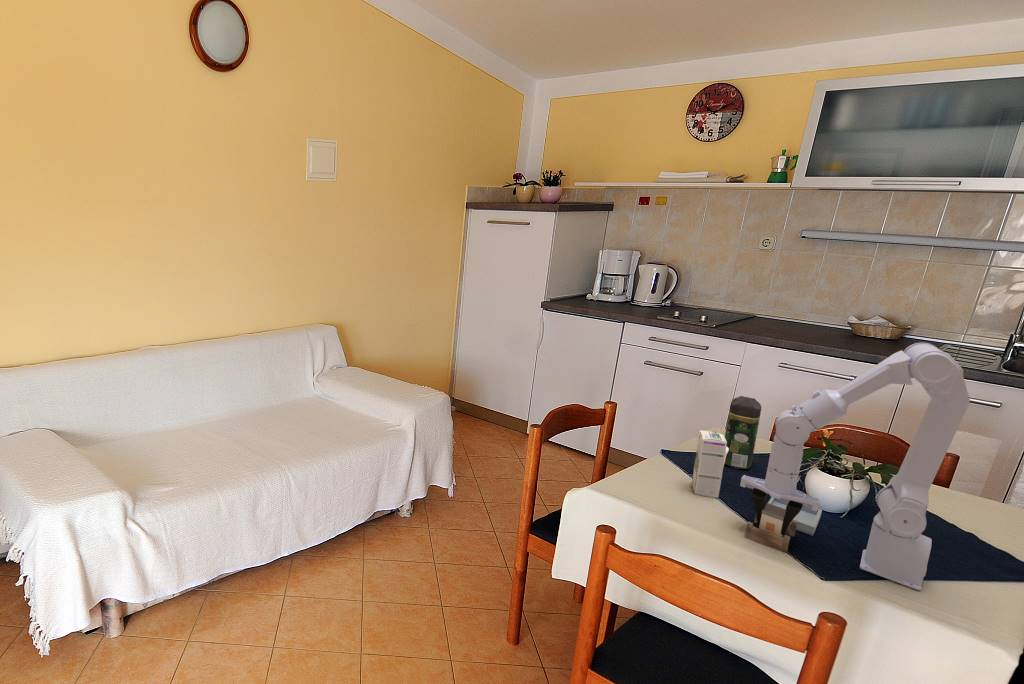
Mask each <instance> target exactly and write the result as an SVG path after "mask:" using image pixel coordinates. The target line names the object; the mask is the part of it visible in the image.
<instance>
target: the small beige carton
mask: <svg viewBox="0 0 1024 684" xmlns="http://www.w3.org/2000/svg"><path fill="white" fill-rule="evenodd" d="M785 513H786V509H783V508H780V507H777V506H775V505H772V504H769V503H768V502H766V505H765V506H764V508H763V510H762V515H761V521H760V526H758V528H759V529H762V530H765V531H767V532H770V533H773V534H775V535H778V536H781V537H784V535H781V530H782V526H783V523H784V519H785Z"/></svg>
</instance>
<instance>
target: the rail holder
mask: <svg viewBox="0 0 1024 684" xmlns="http://www.w3.org/2000/svg"><path fill="white" fill-rule="evenodd" d="M754 523H756V524H757V515H756V513H755V515H754V519H753V522H751V521H747V523H746V527H745V531H744V536H743V537H744V538H745V539H748V540H751V541H754V542H756V543H759V544H762V545H765V546H767V547H770V548H772V549H775V550H777V551H780V552H782V553H785V554H787V553H788V549H789V544H790V542H791V541H790V540H791V537H795V536H796V531H797V530H796V527H797V523H798V521H796V520H792V522H791V523H790V524H789V526H788V528H787V531H786V533H785V535H783V536H782V537H781V536H778V535H775V534H773V533H770V532H767V531H765V530H762V529H759V527H756V526H754Z"/></svg>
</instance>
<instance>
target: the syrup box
mask: <svg viewBox="0 0 1024 684" xmlns="http://www.w3.org/2000/svg"><path fill="white" fill-rule="evenodd" d="M726 445H727V441H726V439H725V434H724V433H722V432H719V433H718V431H711V430H699V432H698V438H697V445H696V452H695V458H694V465H693V473H692V480H691V487H692V489H693V490H692V491H693V493H694V495H697V496H702V497H708V498H713V499H718V498H719V495H720V490H721V484H722V479H723V470H724V467H723V465H725V464H724V458H725V451H726Z"/></svg>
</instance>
